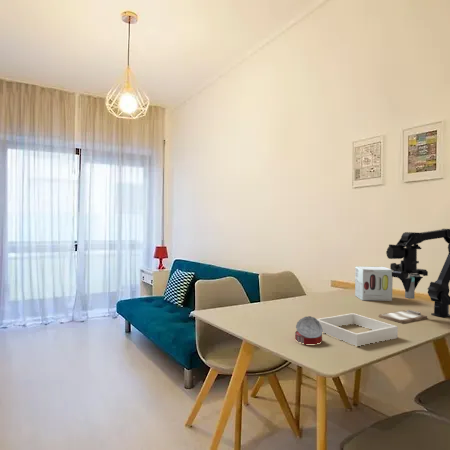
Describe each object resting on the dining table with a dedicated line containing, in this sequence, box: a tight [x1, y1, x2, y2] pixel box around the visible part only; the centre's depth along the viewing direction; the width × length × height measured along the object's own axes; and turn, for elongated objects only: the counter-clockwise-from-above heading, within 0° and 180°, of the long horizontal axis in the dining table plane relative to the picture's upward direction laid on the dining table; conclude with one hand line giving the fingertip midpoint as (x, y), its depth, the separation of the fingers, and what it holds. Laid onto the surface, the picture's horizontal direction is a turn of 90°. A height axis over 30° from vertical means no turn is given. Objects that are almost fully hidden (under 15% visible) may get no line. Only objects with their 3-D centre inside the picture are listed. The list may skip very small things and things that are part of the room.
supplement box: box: [354, 265, 394, 302], centre depth 206 cm, size 17×13×18 cm
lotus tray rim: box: [316, 312, 399, 347], centre depth 141 cm, size 22×22×4 cm
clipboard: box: [378, 309, 428, 324], centre depth 165 cm, size 18×12×2 cm, turn 117°
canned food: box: [294, 316, 323, 344], centre depth 133 cm, size 11×10×10 cm
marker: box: [404, 276, 416, 300], centre depth 167 cm, size 4×4×10 cm
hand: (409, 291), depth 167 cm, fingers closed on marker, 4 cm apart
